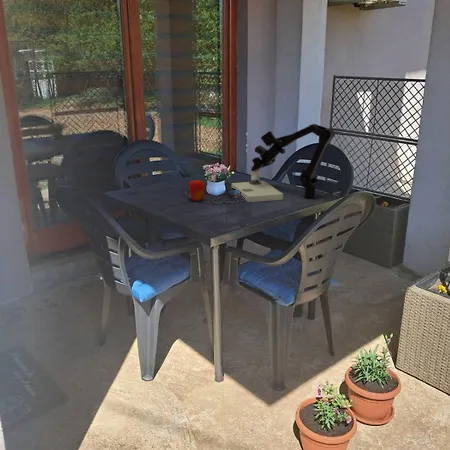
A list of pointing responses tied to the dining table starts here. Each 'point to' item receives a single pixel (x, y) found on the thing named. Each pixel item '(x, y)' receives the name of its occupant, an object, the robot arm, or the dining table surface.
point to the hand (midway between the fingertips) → (254, 169)
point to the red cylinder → (197, 190)
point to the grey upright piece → (255, 176)
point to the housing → (257, 191)
